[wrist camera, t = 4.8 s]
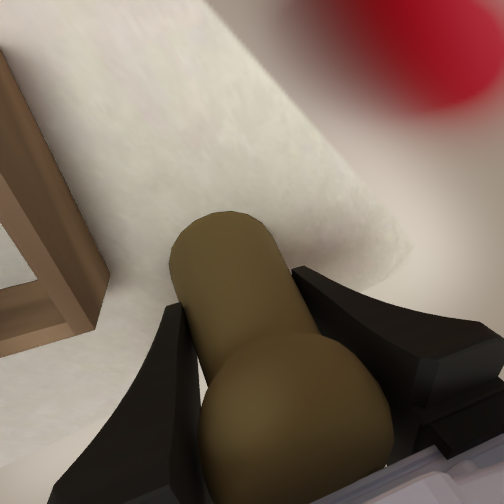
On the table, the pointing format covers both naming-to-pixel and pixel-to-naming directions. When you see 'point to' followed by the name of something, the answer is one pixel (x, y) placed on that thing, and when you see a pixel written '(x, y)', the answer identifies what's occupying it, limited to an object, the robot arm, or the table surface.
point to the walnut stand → (42, 237)
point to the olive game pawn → (271, 374)
